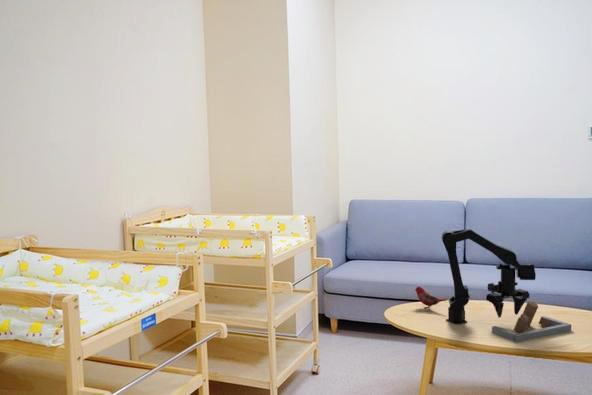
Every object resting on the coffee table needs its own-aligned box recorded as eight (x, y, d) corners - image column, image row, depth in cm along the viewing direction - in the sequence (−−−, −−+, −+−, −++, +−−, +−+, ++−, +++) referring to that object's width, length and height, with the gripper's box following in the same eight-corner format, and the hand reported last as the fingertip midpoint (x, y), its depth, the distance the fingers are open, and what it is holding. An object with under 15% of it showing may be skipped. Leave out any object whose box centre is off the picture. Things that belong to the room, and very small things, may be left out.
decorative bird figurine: (416, 305, 250) (416, 285, 249) (449, 312, 237) (449, 290, 236) (413, 306, 248) (412, 286, 247) (446, 313, 235) (445, 292, 234)
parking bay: (517, 342, 196) (517, 336, 195) (491, 332, 207) (491, 326, 207) (571, 330, 207) (571, 324, 207) (544, 321, 219) (544, 316, 219)
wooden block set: (522, 340, 205) (531, 319, 200) (504, 327, 211) (512, 306, 207) (547, 329, 215) (556, 309, 210) (529, 316, 221) (538, 297, 217)
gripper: (510, 273, 228) (510, 308, 229) (477, 278, 221) (476, 313, 222) (530, 278, 218) (530, 314, 219) (496, 283, 211) (496, 320, 212)
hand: (507, 315), depth 218 cm, fingers open, 9 cm apart
